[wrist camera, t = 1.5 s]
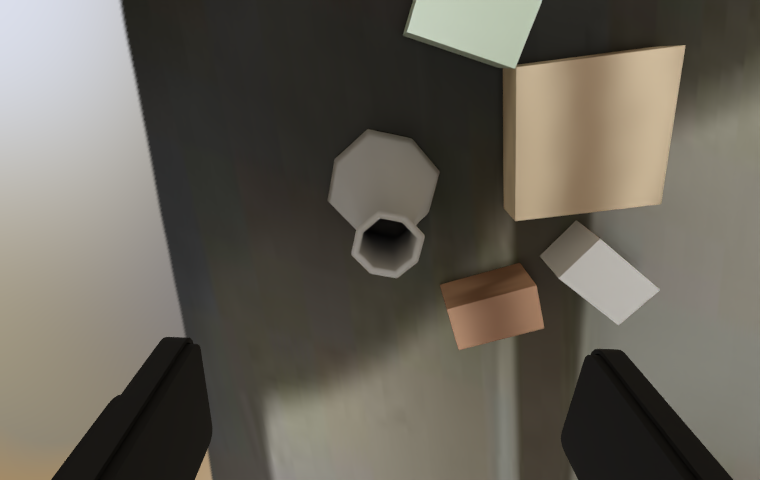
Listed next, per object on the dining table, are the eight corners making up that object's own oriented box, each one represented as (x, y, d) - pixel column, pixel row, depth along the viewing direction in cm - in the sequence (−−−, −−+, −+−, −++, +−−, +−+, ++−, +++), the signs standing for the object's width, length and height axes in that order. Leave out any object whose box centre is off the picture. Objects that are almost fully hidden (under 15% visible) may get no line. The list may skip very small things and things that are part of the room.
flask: (362, 107, 26) (356, 133, 17) (458, 165, 27) (501, 218, 18) (310, 204, 28) (279, 273, 19) (400, 252, 30) (413, 337, 21)
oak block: (651, 46, 25) (685, 45, 22) (633, 190, 29) (661, 204, 26) (501, 66, 25) (516, 67, 23) (501, 205, 29) (515, 221, 26)
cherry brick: (519, 261, 30) (536, 285, 27) (527, 301, 32) (544, 328, 28) (439, 283, 31) (447, 309, 28) (450, 321, 32) (458, 350, 29)
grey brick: (629, 265, 31) (660, 289, 27) (593, 298, 32) (618, 325, 28) (575, 219, 29) (600, 238, 26) (538, 255, 30) (558, 278, 27)
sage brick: (521, 4, 24) (544, -5, 21) (496, 67, 25) (515, 68, 22) (422, -32, 23) (429, -47, 20) (402, 35, 24) (406, 32, 21)
